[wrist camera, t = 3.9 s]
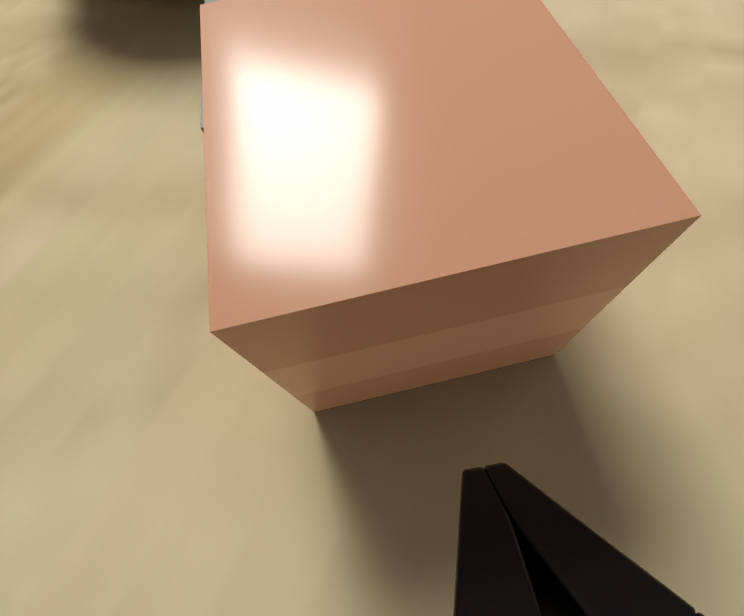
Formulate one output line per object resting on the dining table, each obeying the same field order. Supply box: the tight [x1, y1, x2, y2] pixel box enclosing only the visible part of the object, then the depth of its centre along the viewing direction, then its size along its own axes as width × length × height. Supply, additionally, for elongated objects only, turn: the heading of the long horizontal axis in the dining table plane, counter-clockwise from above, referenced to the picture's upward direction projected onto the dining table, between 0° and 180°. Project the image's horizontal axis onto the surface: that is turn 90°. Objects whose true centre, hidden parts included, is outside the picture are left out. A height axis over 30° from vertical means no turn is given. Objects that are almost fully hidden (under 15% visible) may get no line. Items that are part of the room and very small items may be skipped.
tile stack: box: [200, 0, 701, 412], centre depth 14 cm, size 12×10×9 cm
